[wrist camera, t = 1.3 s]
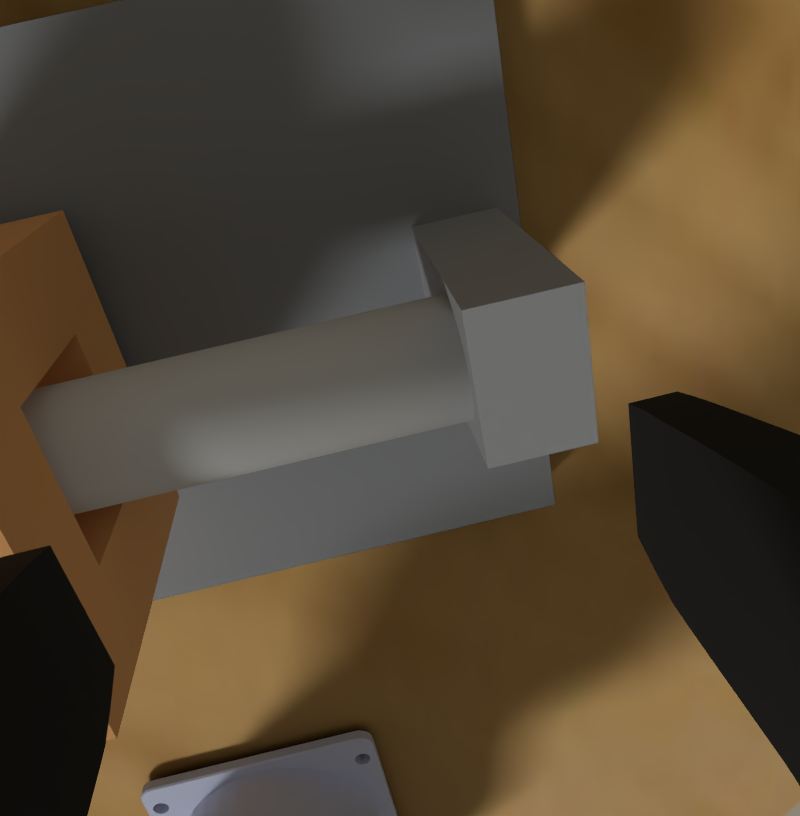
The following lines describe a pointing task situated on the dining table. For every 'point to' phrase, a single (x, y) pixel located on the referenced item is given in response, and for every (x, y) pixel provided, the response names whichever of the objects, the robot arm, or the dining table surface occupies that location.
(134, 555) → the collar
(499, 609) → the dining table surface
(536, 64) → the dining table surface
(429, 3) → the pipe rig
